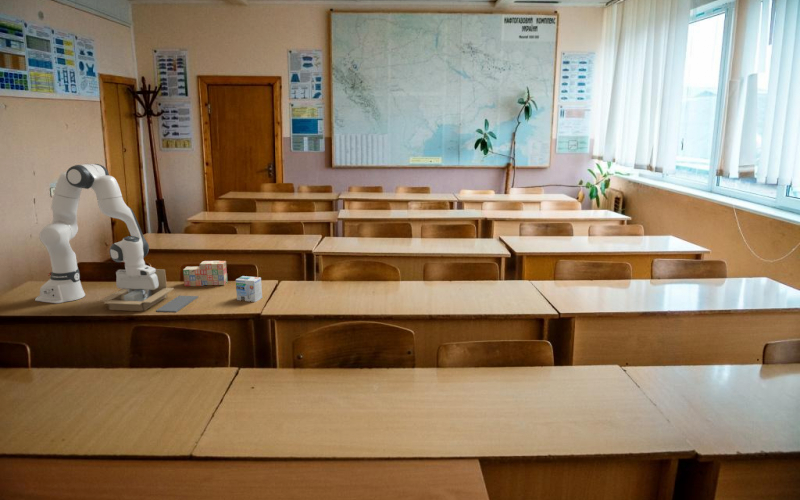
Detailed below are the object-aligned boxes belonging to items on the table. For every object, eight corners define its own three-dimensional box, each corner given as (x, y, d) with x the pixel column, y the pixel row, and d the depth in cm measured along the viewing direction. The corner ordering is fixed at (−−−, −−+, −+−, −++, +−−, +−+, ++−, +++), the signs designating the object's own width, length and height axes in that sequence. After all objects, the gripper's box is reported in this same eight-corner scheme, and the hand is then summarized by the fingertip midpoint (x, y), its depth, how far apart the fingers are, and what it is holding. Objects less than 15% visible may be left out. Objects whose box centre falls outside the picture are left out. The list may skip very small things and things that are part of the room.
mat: (155, 311, 277) (155, 310, 276) (179, 296, 298) (179, 295, 298) (176, 312, 275) (176, 311, 275) (198, 297, 296) (198, 296, 296)
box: (125, 307, 282) (123, 291, 280) (142, 297, 297) (140, 282, 295) (135, 308, 282) (133, 292, 280) (152, 298, 296) (150, 282, 294)
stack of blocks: (184, 286, 315) (182, 264, 312) (188, 283, 321) (186, 261, 318) (224, 285, 315) (222, 263, 312) (228, 282, 321) (226, 260, 318)
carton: (97, 311, 278) (93, 282, 274) (128, 294, 302) (124, 268, 298) (148, 313, 274) (144, 284, 271) (175, 296, 298) (172, 269, 295)
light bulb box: (236, 300, 291) (234, 279, 289) (244, 296, 297) (242, 275, 295) (255, 302, 288) (254, 281, 286) (262, 298, 294) (261, 277, 292)
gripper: (111, 271, 284) (115, 298, 287) (151, 272, 281) (154, 300, 285) (119, 267, 290) (123, 294, 293) (158, 268, 287) (161, 296, 291)
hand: (139, 297), depth 289 cm, fingers closed on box, 5 cm apart
